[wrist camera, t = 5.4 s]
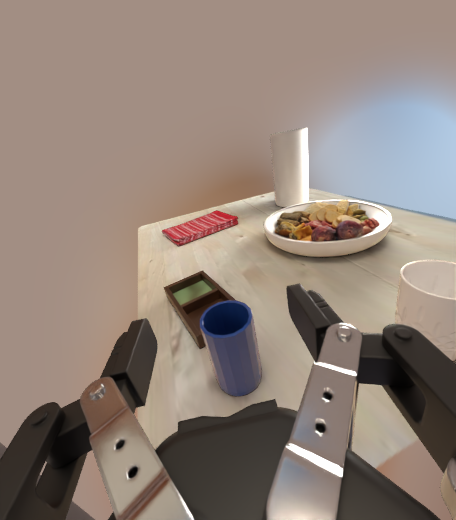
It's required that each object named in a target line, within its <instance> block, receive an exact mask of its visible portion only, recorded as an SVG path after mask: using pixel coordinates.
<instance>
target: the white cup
mask: <svg viewBox="0 0 456 520" xmlns="http://www.w3.org/2000/svg"><path fill="white" fill-rule="evenodd" d="M395 320H396V321H395V324H403V325H407V326H410V327H412V328H414V329H416V330H418V331H419V332H420V333H421V334H423V335H424V336H425V337H426V338H427V339H428V340H429V341H430V342H432V343H433V344H434V345H435V346H436V347H437V348H438V349H439V350H441V351H442V352H443V353H444V354H445V355H446V356H447V357H448V358H449V359H451V360H452V361H453V360H455V359H456V263H454V262H449V261H441V260H421V261H415V262H411V263H409V264H407V265H405V266H404V267H403V268H402V269H401V272H400V280H399V288H398V295H397V303H396V313H395Z"/></svg>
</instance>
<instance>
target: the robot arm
mask: <svg viewBox="0 0 456 520" xmlns="http://www.w3.org/2000/svg"><path fill="white" fill-rule="evenodd" d="M287 299H288V308H289V313H290V316H291V319H292V321H293V322H294V324H295V326H296V328H297V330H298V331H299V333H300V335H301V337H302V339H303V341H304V342H305V344H306V346H307V348H308V350H309V352H310V353H311V355H312V357H313V359H314V361H315V362H314V363H313V366H312V369H311V372H310V375H309V378H308V382H307V385H306V388H305V391H304V394H303V398H302V401H301V404H300V407H299V410H298V412H297V411H295V410H291V409H288V408H282V407H277V404H276V400H275V399H274V400H269V401H265V402H261V403H257V404H252V405H250V406H248V407H246V408H244V409H242V410H241V411H239V412H237V413H235V414H233V415H231V416H229V417H209V416H201V417H197V418H193V419H188V420H184V421H180V422H178V431H177V432H175V433H174V434H172V435H171V436H169V437H168V438H167V439H166V440H164V441H163V442H162V443H161V444H160V445H159V446H158V448H157V449H156V450H155V449H154V448H153V446H152V444H151V443H150V441H149V439H148V437H147V436H146V434H145V432H144V431H143V429H142V427H141V426H140V424H139V422H138V420H137V419H136V417H135V415H134V412H135V409H136V408H137V407H141V406H145V402H146V398H147V393H148V389H149V384H150V380H151V375H152V371H153V367H154V362H155V358H156V353H157V340H156V337H155V335H154V333H153V330H152V328H151V326H150V324H149V321H148V320H147V319H146V318H145V319H140V320H136V321H132V322H131V324H130V327H129V329H128V332H124V333H123V334H122V335H121V336H120V337H119V339H118V340H117V342H116V344H115V346H114V349H113V351H112V353H111V356H110V358H109V359H108V362H107V364H106V366H105V369H104V370H103V373H102V375H101V377H100V379H98V380H96V381H94V382H93V383H91V384H90V385H89V386H88V387H87V388H86V389H85V391H84V392H83V393H82V395H81V398H80V399H79V400H77V401H75V402H73V403H71V404H69V405H67V406H65V407H63V408H61V407H60V406H59V405H58V404H57V403H55V402H51V403H47V404H45V405H43V406H41V407H39V408H38V409H36V410H35V411H33V412H32V413H31V414H30V415H29V416H28V417H27V419H26V420H25V421H24V422H23V424H22V425H21V427H20V428H19V430H18V432H17V433H16V435H15V436H14V438H13V440H12V441H11V443H10V445H9V446H8V448H7V449H6V451H5V453H4V454H3V456H2V458H1V459H0V520H65V519H66V516H67V513H68V510H69V507H70V504H71V501H72V498H73V494H74V492H75V489H76V486H77V483H78V480H79V477H80V474H81V471H82V467H83V465H84V462H85V459H86V456H87V453H88V452H89V451H91V450H93V453H94V456H95V458H96V462H97V464H98V467H99V470H100V473H101V476H102V479H103V482H104V485H105V488H106V491H107V494H108V497H109V499H110V503H111V505H112V508H113V513H112V515H111V516H110V518H109V519H108V520H440V519H439V518H438V517H437V516H436V515H434V513H432V512H431V511H430V510H428V508H426V507H425V506H424V505H422V504H421V503H420V502H418V501H417V500H416V499H414V498H413V497H412V496H411V495H409V494H408V493H407V492H405V491H404V490H403V489H401V488H400V487H399V486H397V485H396V484H395V483H393V482H392V481H391V480H390V479H388V478H387V477H385V476H384V475H383V474H382V473H380V472H379V471H378V470H376V469H375V468H374V467H372V466H371V465H370V464H369V463H367V462H366V461H365V460H363V459H362V458H361V457H359V456H358V455H357V454H355V453H354V452H353V451H352V444H353V434H354V423H355V414H356V406H357V398H358V389H359V383H363V384H376V385H382V386H383V388H384V389H385V391H386V392H387V393H388V395H389V396H390V398H391V399H392V401H393V402H394V403H395V405H396V406H397V408H398V409H399V411H400V412H401V413H402V415H403V416H404V418H405V419H406V420H407V422H408V423H409V425H410V426H411V428H412V429H413V430H414V432H415V433H416V435H417V436H418V438H419V439H420V440H421V442H422V443H423V445H424V446H425V447H426V449H427V450H428V452H429V453H430V455H431V456H432V457H433V459H434V460H435V462H436V463H437V464H438V466H439V467H440V469H441V470H442V472H443V473H444V475H443V478H442V481H441V485H440V490H441V495H442V498H443V500H444V502H445V504H446V506H447V508H448V510H449V512H450V514H451V517H452V520H456V364H455V363H454V362H453V361H452V360H451V359H449V358H448V357H447V356H446V355H445V354H444V353H443V352H442V351H441V350H439V349H438V348H437V347H436V346H435V345H434V344H433V343H432V342H430V341H429V340H428V339H427V338H426V337H425V336H424V335H423V334H421V333H420V332H419V331H418V330H416V329H414V328H412V327H410V326H407V325H403V324H391V325H388V326H386V327H385V328H384V329H383V334H378V333H361V332H360V331H359V330H358V329H357V328H355V327H354V326H352V325H349V324H344V322H343V321H342V320H341V319H340V318H339V317H338V315H337V314H336V313H335V312H334V311H333V309H332V308H331V307H330V306H329V305H328V304H327V302H326V301H325V300H324V299H323V298H322V296H321V295H320V294H318V293H316V292H315V291H313V290H309V291H306V290H305V289H304V288H303V286H302V285H301V284H295V285H291V286H287ZM45 461H46V462H47V464H46V466H45V469H44V471H43V473H42V475H41V477H40V480H39V482H38V484H37V486H36V482H37V479H38V476H39V474H40V472H41V470H42V467H43V465H44V463H45Z"/></svg>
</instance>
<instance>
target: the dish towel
mask: <svg viewBox="0 0 456 520" xmlns="http://www.w3.org/2000/svg"><path fill="white" fill-rule="evenodd" d="M237 219H238V217H237V216H231V215H229V214H226V213H223V212H220V211H214V212H212V213H210V214H207V215H204V216H202V217H199V218H197V219H194V220H191V221H189V222H186V223H183V224H180V225H178V226H174V227H171V228H167V229H164V230H162V233H163V234H164V235H165V236H166V237H168V238H169V239H170V240H171V241H172V242H174V243H175V244H177V245H178V246H181V245H183V244H186V243H189V242H191V241H194V240H197V239H199V238H202V237H204V236H207V235H209V234H213V233H215V232H218V231H220V230H223V229H226V228H228V227H231V226H233V225H236V224H238V221H237Z"/></svg>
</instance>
